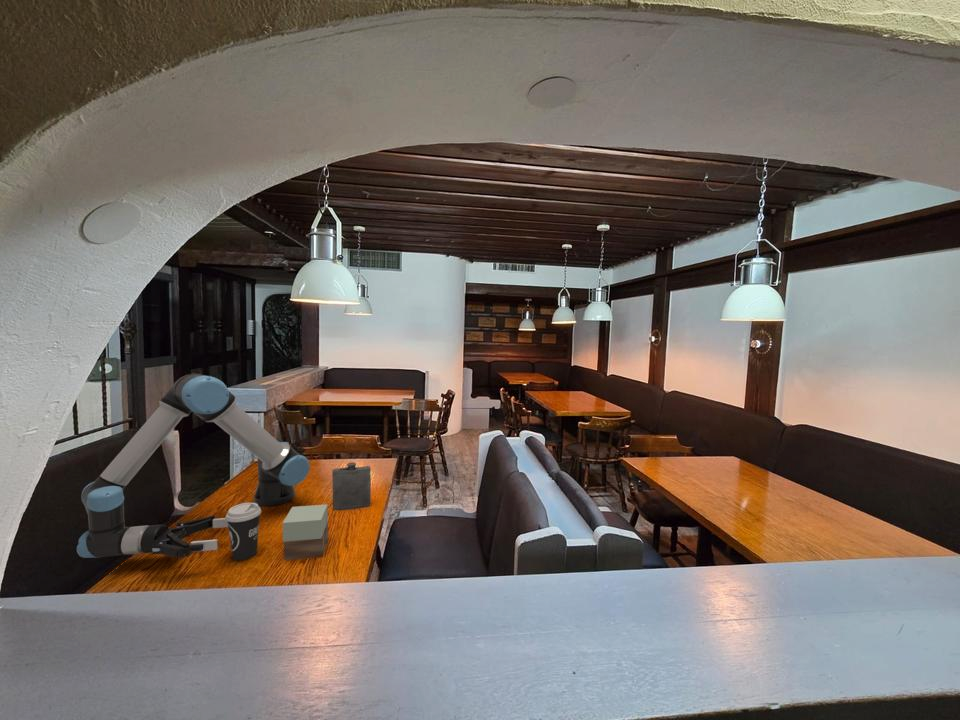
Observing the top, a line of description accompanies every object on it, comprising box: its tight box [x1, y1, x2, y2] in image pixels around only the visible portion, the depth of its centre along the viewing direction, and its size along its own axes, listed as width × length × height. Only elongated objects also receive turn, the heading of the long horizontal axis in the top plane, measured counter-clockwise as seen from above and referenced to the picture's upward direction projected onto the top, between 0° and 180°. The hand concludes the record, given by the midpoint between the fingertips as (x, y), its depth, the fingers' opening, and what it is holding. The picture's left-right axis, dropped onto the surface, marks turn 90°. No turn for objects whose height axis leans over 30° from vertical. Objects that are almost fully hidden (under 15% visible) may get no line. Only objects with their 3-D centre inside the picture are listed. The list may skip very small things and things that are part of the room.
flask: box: [331, 462, 372, 511], centre depth 154 cm, size 4×14×18 cm, turn 106°
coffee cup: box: [224, 502, 262, 562], centre depth 121 cm, size 10×10×15 cm
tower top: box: [282, 503, 329, 543], centre depth 125 cm, size 11×11×6 cm
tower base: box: [283, 521, 329, 561], centre depth 125 cm, size 11×11×6 cm
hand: (227, 532), depth 119 cm, fingers open, 13 cm apart
